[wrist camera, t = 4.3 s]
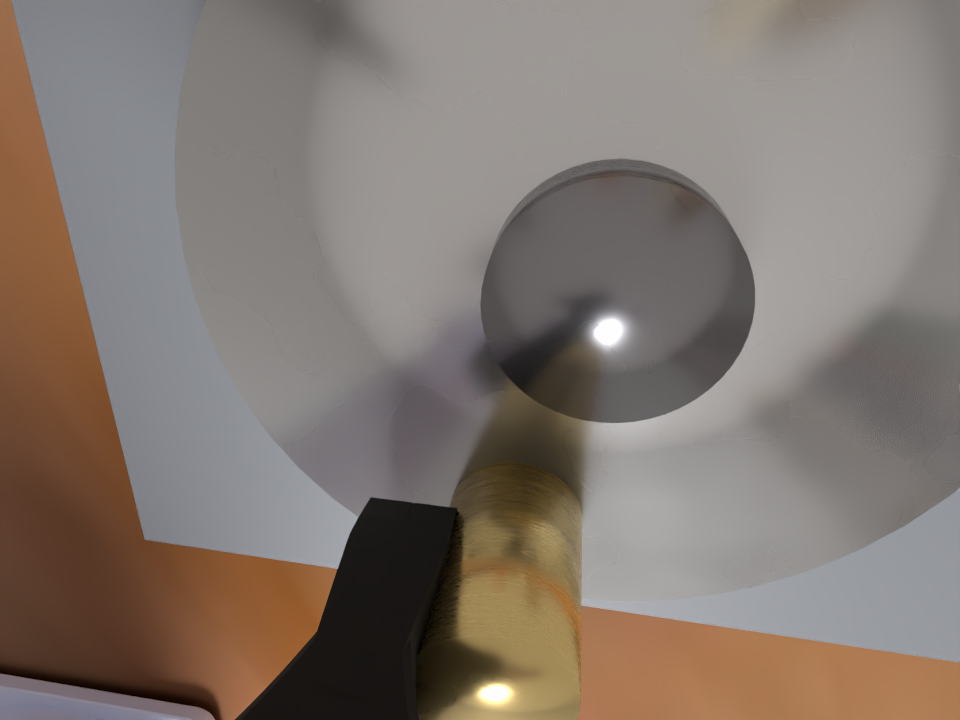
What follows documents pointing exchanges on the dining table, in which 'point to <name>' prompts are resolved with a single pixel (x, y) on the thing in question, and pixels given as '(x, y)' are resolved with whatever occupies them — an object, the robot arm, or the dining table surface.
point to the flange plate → (586, 289)
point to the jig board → (231, 423)
